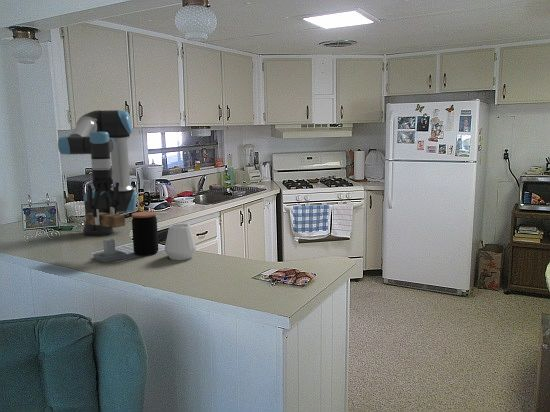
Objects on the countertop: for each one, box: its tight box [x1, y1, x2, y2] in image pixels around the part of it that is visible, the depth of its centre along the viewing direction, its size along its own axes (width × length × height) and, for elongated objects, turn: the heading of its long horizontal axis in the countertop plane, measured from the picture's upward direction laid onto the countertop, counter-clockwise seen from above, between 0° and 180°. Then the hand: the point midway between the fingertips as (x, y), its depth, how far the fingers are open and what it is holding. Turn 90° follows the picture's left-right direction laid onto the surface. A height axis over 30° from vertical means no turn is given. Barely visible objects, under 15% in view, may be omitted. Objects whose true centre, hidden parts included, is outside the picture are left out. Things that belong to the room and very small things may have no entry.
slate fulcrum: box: [93, 238, 127, 264], centre depth 196 cm, size 10×10×8 cm
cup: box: [164, 223, 197, 261], centre depth 196 cm, size 13×13×14 cm
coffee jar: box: [131, 211, 159, 257], centre depth 203 cm, size 11×11×18 cm
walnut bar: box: [85, 212, 126, 229], centre depth 194 cm, size 18×5×4 cm, turn 61°
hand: (105, 223), depth 194 cm, fingers closed on walnut bar, 6 cm apart
